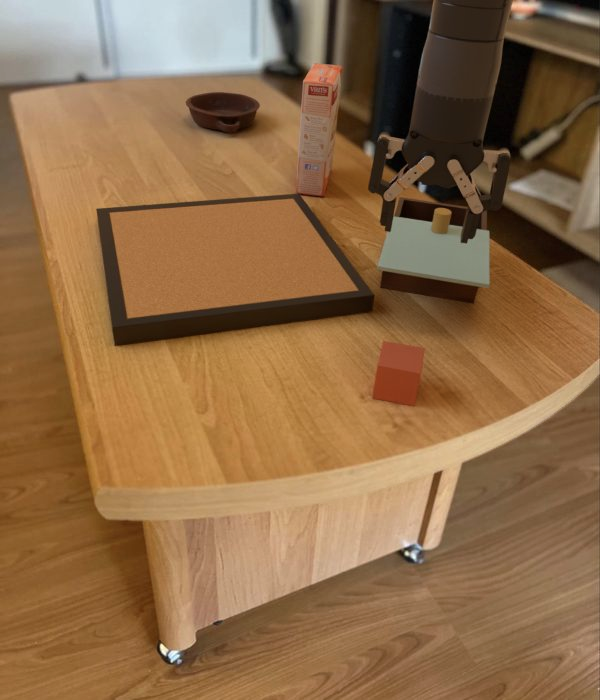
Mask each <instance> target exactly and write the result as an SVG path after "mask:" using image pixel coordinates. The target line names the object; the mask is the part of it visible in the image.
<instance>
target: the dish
mask: <svg viewBox="0 0 600 700" xmlns="http://www.w3.org/2000/svg"><path fill="white" fill-rule="evenodd" d="M185 105H186V107H188V110H189V113H190V115H191V118H192V120H193V121H194V122H195V124H197V125H198V126H201V127H204V128H207V129H211V130H218V131H222V132H225V133H228V134H229V133H230V134H231V133H236V132H238V130H241V129H245V128H247V127H249V126H251V125H252V124H253V123H254V121H255V119H256V117H257V116H256V115H257V111H258V110H259V109H260V107H261V105H260V102H259V100H257V99H255V98H254V97H251V96H250V95H246V94H241V93H235V92H234V93H233V92H224V91H213V92H205V93H201V94H194V95H192V96H189V98H187V99H186V101H185Z"/></svg>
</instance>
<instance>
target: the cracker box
mask: <svg viewBox="0 0 600 700" xmlns="http://www.w3.org/2000/svg"><path fill="white" fill-rule="evenodd" d="M342 75H343V66H341V65H337V64H326V63H318V62H317V63H313V64H312V66H311V67H310V68H309V71H308V72H307V74H306V76H305V77H304V79H303V81H302V93H301V105H300V106H301V108H300V122H299V136H298V151H297V152H298V153H297V167H296V181H295V182H296V183H295V194H300V195H305V196H312V197H313V196H314V197H321V198H323V197H324V196H325V193H326V190H327V187H328V184H329V181H330V177H331V175H332V171H333V161H334V154H335V145H336V144H335V143H336V135H337V127H338V124H337V123H338V117H339V105H340V97H341V96H340V95H341V87H342V86H341V84H342Z"/></svg>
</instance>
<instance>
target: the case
mask: <svg viewBox="0 0 600 700" xmlns="http://www.w3.org/2000/svg"><path fill="white" fill-rule="evenodd" d="M437 208H446V209H449V210H450V211H451V212H452V213H451V218H450V223H449V225H454V226H461V227H463V223H464V219H465V215H466V211H467V206H464V205H457V204H450V203H443V202H436V201H431V200H422V199H416V198H410V197H409V198H408V197H402V196H399V198H398V202H397V205H396V207H395V211H394V216H395V217H401V218H408V219H415V220H421V221H428V222H432V221H433V216H434V211H435V209H437ZM487 221H488V210H486V211H484V212H482V214H481V215H480V219H479V223H478V227H477V229H480V230H487V231H488V222H487ZM380 279H381V280H380V285H379V287H380V288H381V289H386V290H392V291H398V292H405V293H412V294H416V295H422V296H429V297H434V298H440V299H446V300H452V301H457V302H463V303H468V304H469V303H470V304H475V301H476V298H477V294H478V290H479V287H478V286H472V285H466V284H459V283H453V282H447V281H441V280H435V279H429V278H423V277H417V276H411V275H405V274H399V273H393V272H387V271H382V272H381V278H380Z"/></svg>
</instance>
